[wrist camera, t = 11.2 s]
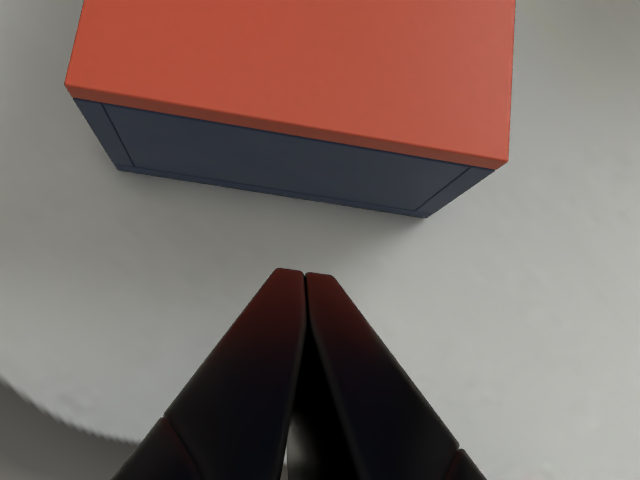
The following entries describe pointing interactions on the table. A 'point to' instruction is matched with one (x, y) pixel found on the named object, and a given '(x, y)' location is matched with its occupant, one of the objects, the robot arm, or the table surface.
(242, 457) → the robot arm
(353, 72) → the lid
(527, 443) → the table surface
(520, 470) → the table surface
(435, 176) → the box
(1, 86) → the table surface
